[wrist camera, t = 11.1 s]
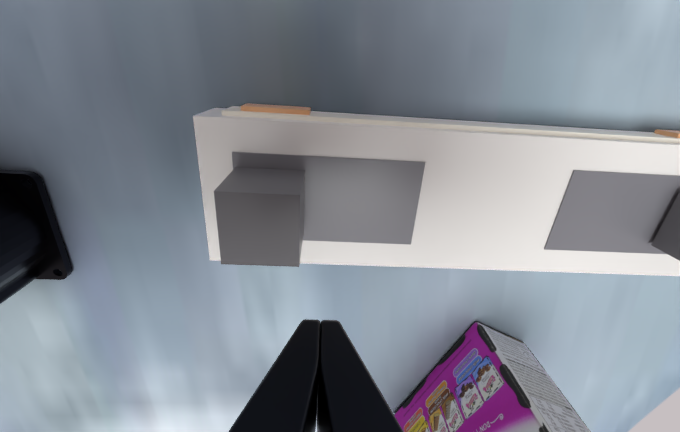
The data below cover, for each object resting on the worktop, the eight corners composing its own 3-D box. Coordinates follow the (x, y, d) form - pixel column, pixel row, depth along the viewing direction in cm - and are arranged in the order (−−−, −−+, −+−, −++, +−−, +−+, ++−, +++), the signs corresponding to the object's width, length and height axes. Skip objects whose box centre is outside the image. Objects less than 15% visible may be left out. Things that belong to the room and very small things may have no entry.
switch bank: (658, 249, 21) (710, 278, 18) (226, 232, 19) (209, 261, 16) (722, 131, 18) (797, 143, 15) (214, 99, 16) (190, 105, 13)
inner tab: (303, 231, 15) (298, 266, 13) (239, 228, 15) (221, 264, 13) (305, 170, 14) (300, 195, 11) (235, 167, 14) (213, 191, 11)
